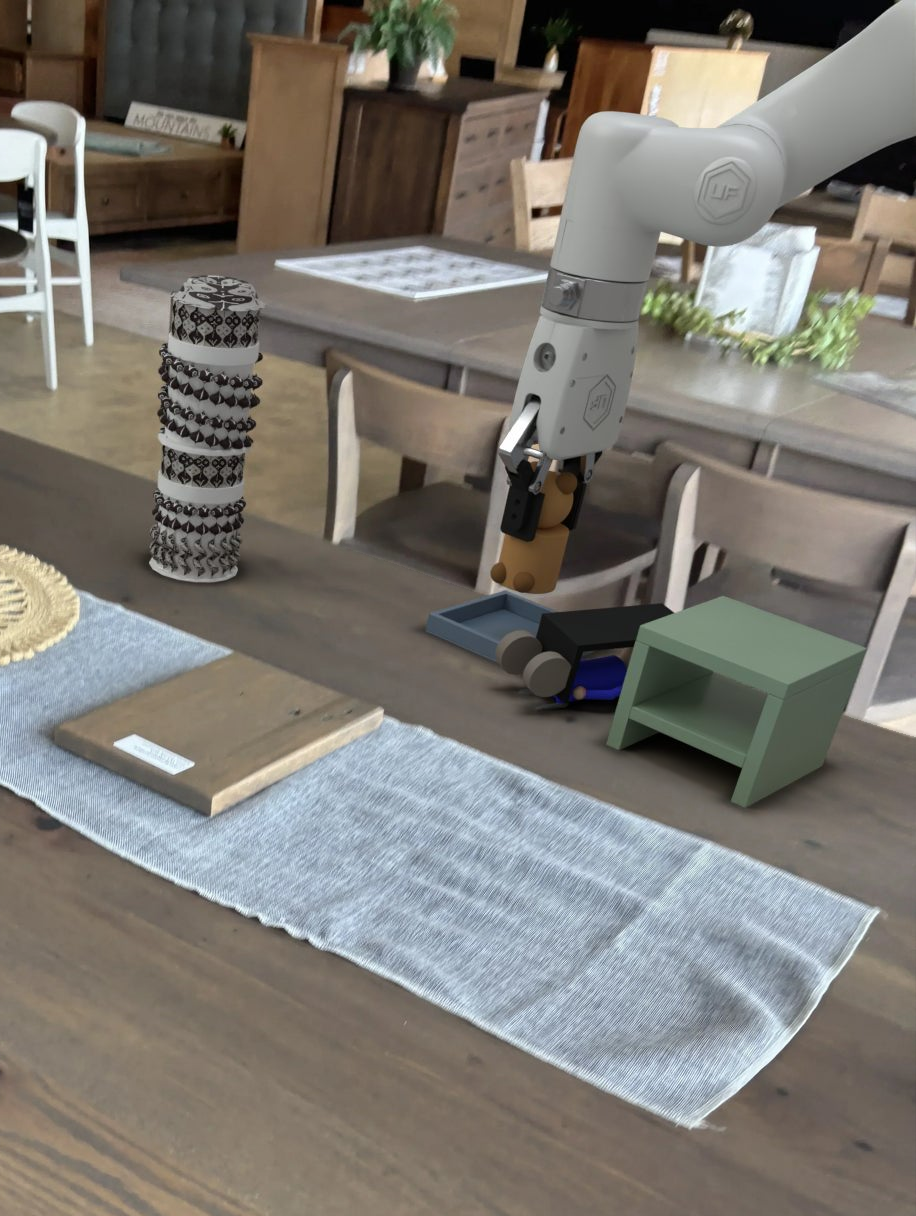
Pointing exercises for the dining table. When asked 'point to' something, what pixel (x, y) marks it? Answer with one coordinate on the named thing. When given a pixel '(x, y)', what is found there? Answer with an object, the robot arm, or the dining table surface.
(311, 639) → the dining table surface
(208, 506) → the decorative candle
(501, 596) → the tray
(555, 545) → the toy bear
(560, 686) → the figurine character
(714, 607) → the shelf
